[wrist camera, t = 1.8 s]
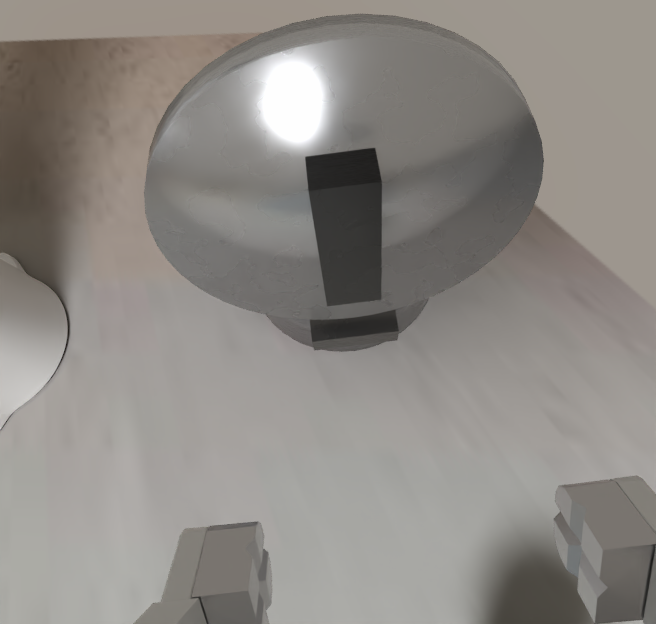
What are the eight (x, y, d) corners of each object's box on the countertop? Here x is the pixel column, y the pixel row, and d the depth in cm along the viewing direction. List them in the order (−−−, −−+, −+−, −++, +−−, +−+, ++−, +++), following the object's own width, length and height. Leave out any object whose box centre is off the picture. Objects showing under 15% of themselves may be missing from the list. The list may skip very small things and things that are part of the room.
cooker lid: (209, 315, 36) (208, 362, 34) (67, 51, 19) (50, 115, 18) (494, 280, 35) (508, 326, 33) (592, -20, 19) (630, 37, 17)
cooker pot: (208, 396, 48) (161, 360, 37) (203, 201, 56) (162, 122, 44) (508, 360, 48) (552, 312, 36) (462, 168, 55) (487, 79, 44)
